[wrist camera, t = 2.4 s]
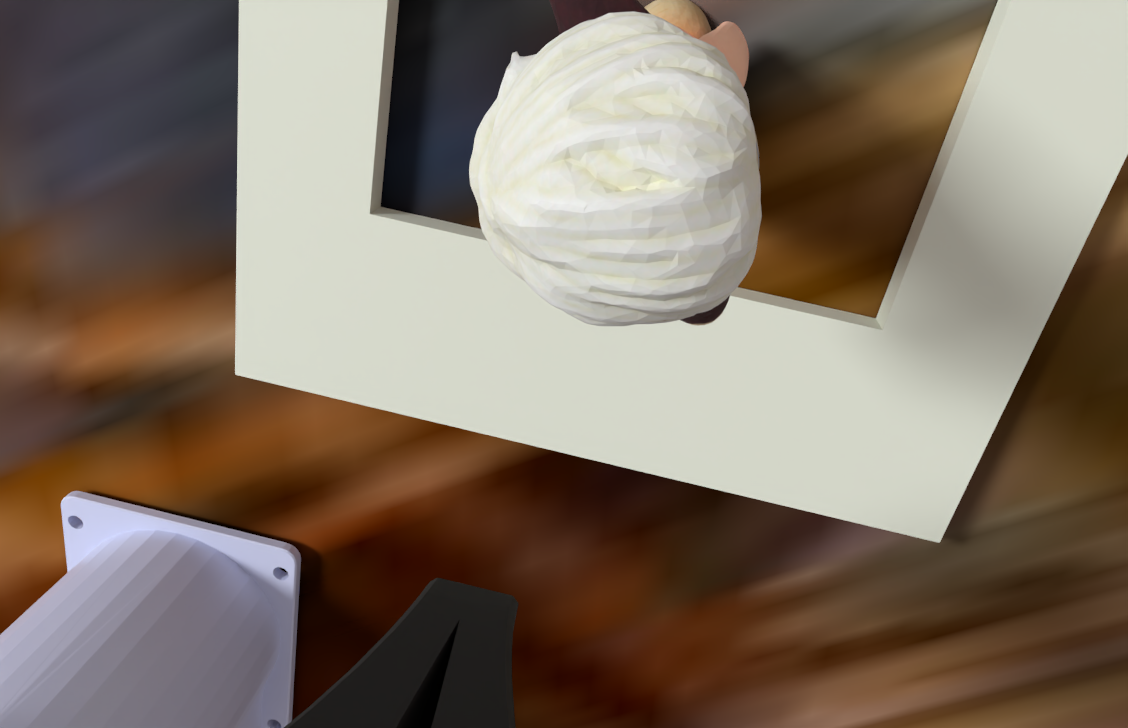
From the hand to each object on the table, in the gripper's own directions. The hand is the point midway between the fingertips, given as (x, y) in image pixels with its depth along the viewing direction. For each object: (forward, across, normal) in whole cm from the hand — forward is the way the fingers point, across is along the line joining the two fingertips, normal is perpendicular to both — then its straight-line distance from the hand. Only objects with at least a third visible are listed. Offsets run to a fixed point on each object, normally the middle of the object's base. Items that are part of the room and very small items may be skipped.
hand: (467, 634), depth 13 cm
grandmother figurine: (+11, -1, -8) cm, 13 cm away
